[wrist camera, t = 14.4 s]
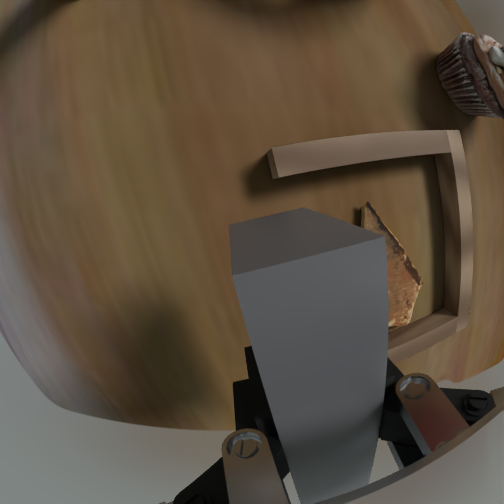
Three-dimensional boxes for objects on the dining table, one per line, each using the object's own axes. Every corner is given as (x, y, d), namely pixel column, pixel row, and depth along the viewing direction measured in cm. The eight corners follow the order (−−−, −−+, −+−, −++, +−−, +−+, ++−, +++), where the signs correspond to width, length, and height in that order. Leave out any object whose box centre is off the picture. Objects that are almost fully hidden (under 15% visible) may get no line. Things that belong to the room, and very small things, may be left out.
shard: (358, 199, 21) (368, 200, 19) (425, 209, 22) (437, 211, 20) (341, 322, 23) (349, 331, 22) (407, 317, 24) (416, 325, 22)
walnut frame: (266, 153, 19) (271, 147, 17) (442, 133, 20) (459, 130, 18) (311, 376, 24) (318, 392, 21) (454, 317, 24) (467, 325, 22)
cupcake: (491, 100, 19) (548, 89, 10) (468, 138, 20) (538, 132, 11) (447, 36, 17) (500, 9, 8) (416, 64, 18) (482, 30, 9)
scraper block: (229, 225, 11) (232, 275, 5) (303, 207, 11) (385, 236, 5) (282, 427, 14) (303, 510, 8) (331, 413, 14) (366, 491, 8)
